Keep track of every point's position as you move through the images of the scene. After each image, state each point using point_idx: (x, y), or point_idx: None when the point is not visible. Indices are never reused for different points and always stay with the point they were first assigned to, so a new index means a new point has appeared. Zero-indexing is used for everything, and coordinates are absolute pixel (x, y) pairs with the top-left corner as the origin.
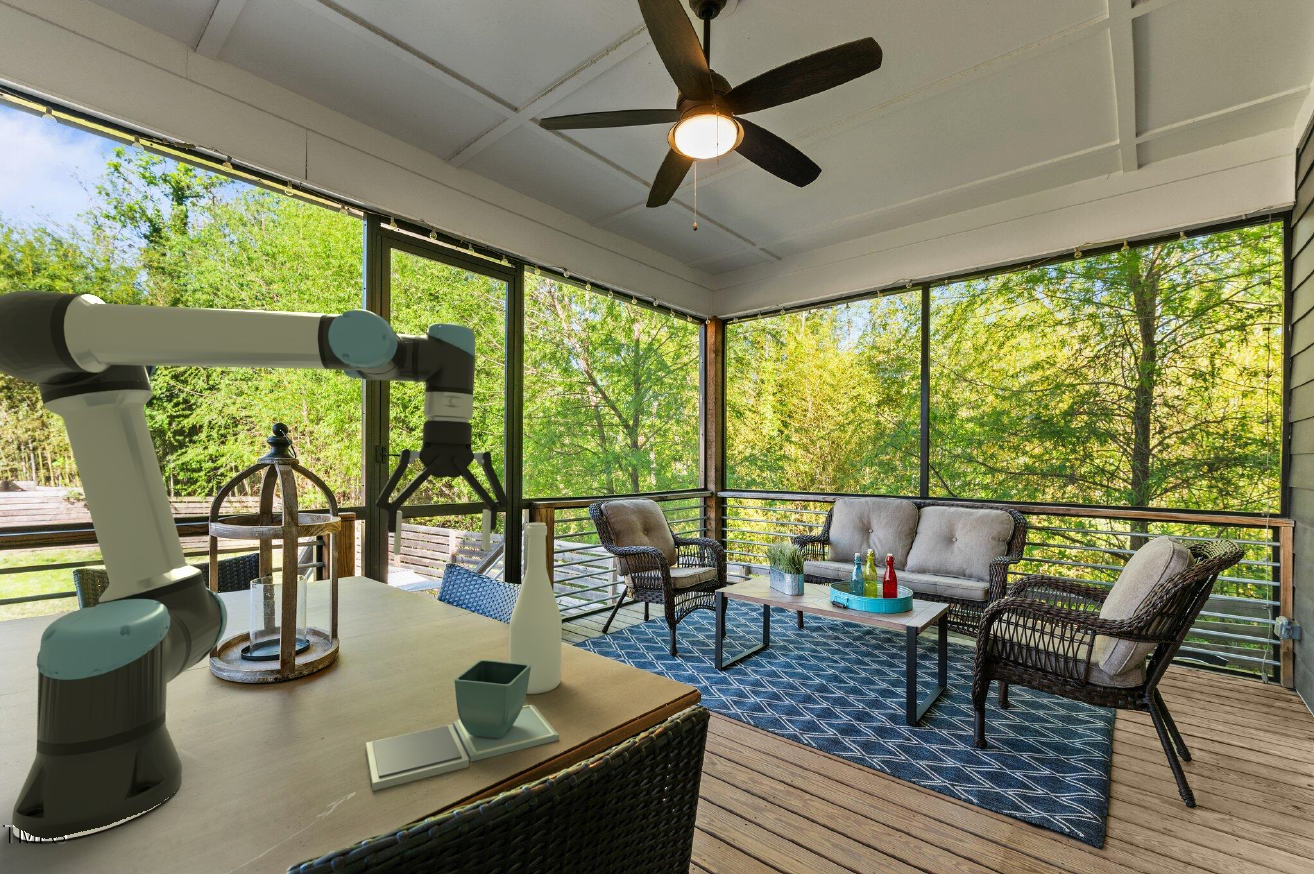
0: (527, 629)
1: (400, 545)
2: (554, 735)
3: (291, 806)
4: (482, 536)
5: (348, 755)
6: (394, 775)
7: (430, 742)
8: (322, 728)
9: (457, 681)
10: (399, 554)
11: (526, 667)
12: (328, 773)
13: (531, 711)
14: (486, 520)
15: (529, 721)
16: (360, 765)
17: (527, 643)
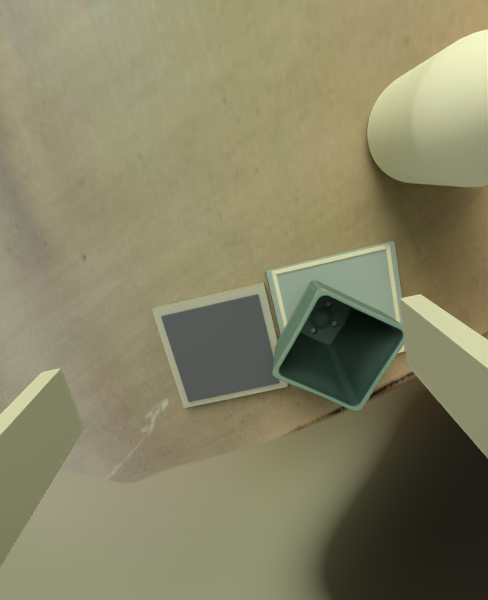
0: (446, 181)
1: (68, 450)
2: (403, 351)
3: (109, 409)
4: (425, 332)
5: (135, 317)
6: (205, 399)
7: (238, 339)
8: (71, 223)
9: (277, 378)
10: (80, 428)
11: (400, 343)
12: (125, 354)
13: (386, 266)
14: (483, 448)
15: (377, 300)
16: (157, 345)
17: (431, 181)
